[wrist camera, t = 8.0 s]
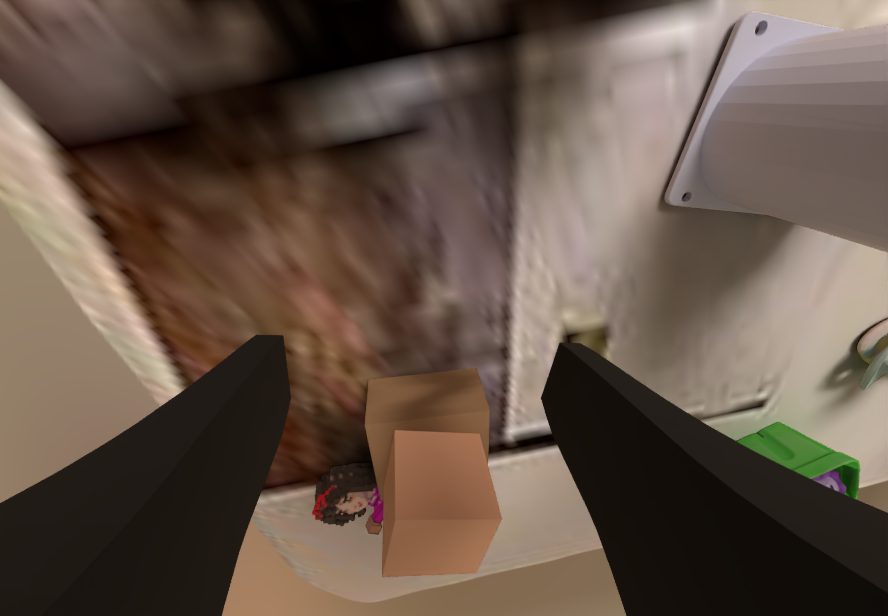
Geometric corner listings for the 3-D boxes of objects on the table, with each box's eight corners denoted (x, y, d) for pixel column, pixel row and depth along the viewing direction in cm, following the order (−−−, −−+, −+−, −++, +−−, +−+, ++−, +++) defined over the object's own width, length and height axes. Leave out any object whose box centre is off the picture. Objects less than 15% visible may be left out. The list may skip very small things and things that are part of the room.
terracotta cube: (479, 433, 21) (501, 519, 17) (460, 486, 23) (476, 573, 19) (394, 430, 20) (395, 520, 16) (383, 485, 22) (382, 577, 18)
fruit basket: (793, 404, 30) (986, 552, 20) (799, 457, 34) (962, 600, 24) (662, 465, 32) (780, 625, 22) (684, 507, 36) (791, 657, 26)
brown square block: (476, 365, 24) (490, 410, 20) (475, 437, 27) (486, 485, 24) (368, 376, 23) (364, 425, 20) (382, 448, 27) (380, 500, 23)
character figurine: (474, 444, 29) (318, 448, 25) (497, 507, 25) (314, 524, 21) (454, 486, 32) (311, 496, 28) (471, 548, 28) (306, 571, 24)
